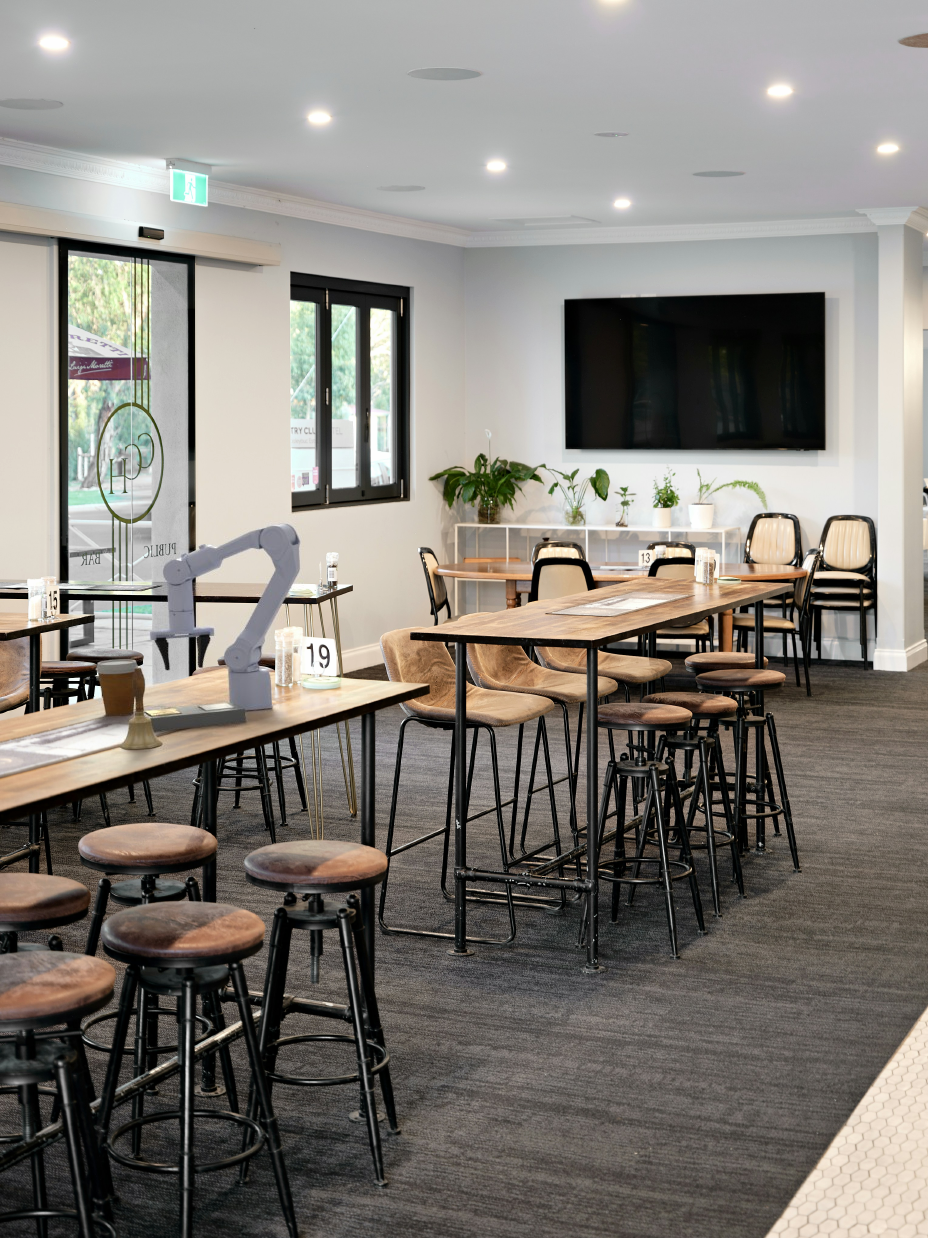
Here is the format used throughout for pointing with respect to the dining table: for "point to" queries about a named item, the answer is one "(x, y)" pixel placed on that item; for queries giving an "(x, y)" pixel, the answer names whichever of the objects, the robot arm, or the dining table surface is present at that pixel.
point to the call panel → (197, 717)
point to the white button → (216, 707)
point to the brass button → (162, 712)
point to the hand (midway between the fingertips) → (184, 668)
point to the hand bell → (140, 719)
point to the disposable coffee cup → (117, 686)
